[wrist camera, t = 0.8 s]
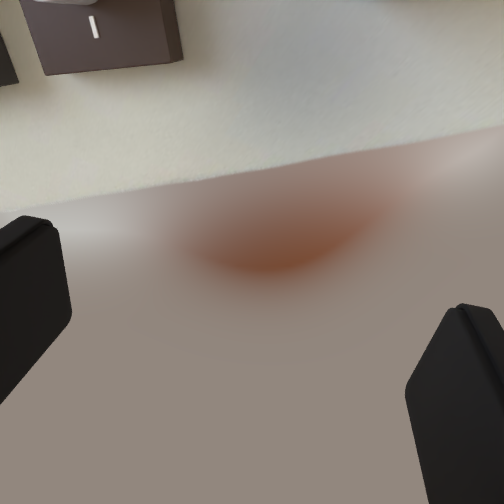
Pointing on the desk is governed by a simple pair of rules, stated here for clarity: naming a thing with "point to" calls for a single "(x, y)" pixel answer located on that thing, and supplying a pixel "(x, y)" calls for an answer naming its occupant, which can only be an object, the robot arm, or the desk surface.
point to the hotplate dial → (70, 1)
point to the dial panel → (103, 34)
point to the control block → (6, 67)
